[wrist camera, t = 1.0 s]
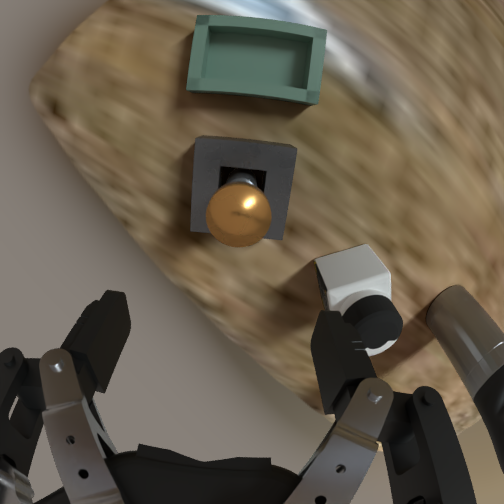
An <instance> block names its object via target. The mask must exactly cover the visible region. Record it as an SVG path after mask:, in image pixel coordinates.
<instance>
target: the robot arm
mask: <svg viewBox="0 0 504 504" xmlns="http://www.w3.org/2000/svg"><path fill="white" fill-rule="evenodd" d="M426 322H427V325H428V326H429V328H430V329H431V331H432V333H433V334H434V336H435V337H436V339H437V340H438V342H439V344H440V345H441V347H442V348H443V350H444V351H445V353H446V355H447V356H448V358H449V360H450V361H451V363H452V364H453V366H454V368H455V370H456V371H457V373H458V375H459V376H460V378H461V380H462V382H463V383H464V385H465V387H466V389H467V390H468V392H469V394H470V396H471V398H472V400H473V402H474V403H475V405H476V407H477V409H478V411H479V413H480V415H481V417H482V419H483V421H484V423H485V425H486V427H487V429H488V432H489V435H490V437H491V440H492V443H493V445H494V449H495V452H496V454H497V458H498V461H499V464H500V467H501V469H502V471H503V473H504V333H503V332H502V331H501V329H500V328H499V327H498V325H497V324H496V323H495V322H494V320H493V319H492V318H491V317H490V316H489V314H488V313H487V312H486V311H485V310H484V309H483V307H482V306H481V305H480V304H479V303H478V302H477V301H476V300H475V299H474V297H473V296H472V295H471V294H470V293H469V292H468V291H467V290H466V289H465V288H464V287H463V286H460V285H456V286H452V287H450V288H448V289H446V290H445V291H443V292H442V293H441V294H440V295H439V296H438V297H437V298H436V299H435V300H434V302H433V303H432V304H431V306H430V308H429V310H428V312H427V316H426ZM130 329H131V320H130V315H129V310H128V305H127V300H126V295H125V293H124V292H119V291H112V290H107V291H106V292H105V293H104V295H103V296H102V298H101V299H100V300H99V301H98V300H95V301H93V302H92V303H91V304H89V305H88V306H87V307H86V308H85V310H84V311H83V313H82V314H81V317H79V319H78V320H77V323H76V324H75V325H74V326H73V328H72V329H71V331H70V333H69V334H68V336H67V337H66V339H65V341H64V342H63V344H62V345H61V347H60V348H56V349H52V350H49V351H47V352H46V353H45V354H44V355H43V356H42V357H41V358H40V359H39V358H24V356H23V354H22V352H21V351H20V350H19V349H17V348H7V349H5V350H4V351H2V352H1V353H0V504H350V502H351V500H352V499H353V497H354V495H355V493H356V492H357V490H358V488H359V486H360V484H361V483H362V481H363V479H364V477H365V475H366V473H367V471H368V469H369V467H370V465H371V463H372V461H373V459H374V457H375V455H376V452H377V450H378V446H379V444H378V443H376V441H380V442H381V443H382V447H383V452H384V456H385V461H386V466H387V471H388V476H389V481H390V487H391V493H392V499H393V504H477V503H476V498H475V494H474V490H473V486H472V482H471V479H470V475H469V472H468V468H467V465H466V462H465V459H464V456H463V453H462V450H461V447H460V444H459V441H458V438H457V435H456V432H455V430H454V427H453V424H452V422H451V419H450V417H449V414H448V412H447V409H446V407H445V404H444V402H443V400H442V397H441V395H440V394H439V393H438V392H437V391H436V390H435V389H433V388H431V387H428V386H422V387H419V388H417V389H416V390H415V391H414V393H413V394H407V393H400V392H395V391H393V390H392V388H391V387H390V386H389V384H388V383H386V382H385V381H383V380H381V379H379V378H377V376H376V373H375V371H374V368H373V366H372V363H371V361H370V358H369V356H368V354H367V351H366V350H365V346H364V344H363V343H362V339H361V337H360V335H359V332H358V331H357V330H356V329H355V328H354V327H353V326H352V325H351V323H345V322H344V320H343V317H342V315H341V313H340V311H330V310H321V311H320V313H319V316H318V319H317V322H316V326H315V329H314V332H313V335H312V338H311V353H312V357H313V362H314V366H315V371H316V375H317V380H318V384H319V389H320V393H321V398H322V403H323V407H324V412H325V415H327V414H335V419H336V420H335V422H334V423H333V425H332V426H331V428H330V430H329V431H328V433H327V434H326V436H325V438H324V439H323V441H322V442H321V444H320V445H319V447H318V448H317V450H316V451H315V453H314V454H313V455H312V457H311V458H310V459H309V461H308V462H307V463H306V465H305V466H304V467H303V469H302V470H301V471H300V472H299V474H298V475H297V474H295V473H293V472H292V471H290V470H287V469H285V468H282V467H279V466H276V465H271V458H250V457H249V458H248V457H236V458H229V459H223V460H215V461H209V462H208V461H207V462H202V461H198V460H195V459H192V458H190V457H187V456H184V455H181V454H179V453H176V452H174V451H171V450H168V449H162V448H157V447H152V446H147V445H143V444H139V445H138V449H137V451H127V452H123V453H118V452H117V450H116V448H115V446H114V445H113V443H112V441H111V440H110V438H109V436H108V433H107V431H106V429H105V427H104V424H103V422H102V419H101V417H100V414H99V412H98V409H97V406H96V404H95V401H94V399H93V395H94V393H95V391H97V392H101V393H105V392H106V389H107V386H108V384H109V381H110V379H111V376H112V374H113V371H114V369H115V366H116V364H117V362H118V359H119V357H120V354H121V352H122V350H123V347H124V345H125V343H126V340H127V338H128V336H129V333H130ZM16 396H17V397H18V398H19V399H18V401H17V404H16V406H15V408H14V410H13V413H12V415H11V418H10V420H9V417H8V416H9V411H10V409H11V407H12V405H13V402H14V400H15V398H16ZM43 424H44V426H45V430H46V434H47V438H48V441H49V445H50V448H51V452H52V455H53V458H54V461H55V464H56V467H57V470H58V473H59V475H60V478H61V481H62V483H63V487H62V488H60V489H58V490H57V491H55V492H53V493H51V494H50V495H48V496H46V497H45V498H43V499H41V500H39V501H37V502H35V503H33V502H32V498H33V497H34V491H33V489H32V488H31V484H30V482H29V480H28V478H27V477H28V474H29V470H30V466H31V462H32V458H33V455H34V452H35V449H36V445H37V442H38V439H39V436H40V433H41V430H42V427H43Z"/></svg>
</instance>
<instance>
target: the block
mask: <svg viewBox="0 0 504 504" xmlns="http://www.w3.org/2000/svg"><path fill="white" fill-rule="evenodd" d="M296 154H297V148H295V147H294V146H292V145H290V144H283V143H276V142H268V141H260V140H251V139H242V138H231V137H219V136H204V135H202V136H200V137H197V138H196V139H195V151H194V165H193V181H192V200H191V227H190V231H193V232H204V233H211V232H210V230H209V228H208V226H207V223H206V210H207V206H208V204H209V202H210V199H211V197H212V196H213V194H214V193H215V192H216V191H217V190H218V189H219V188H220V187H221V184H222V173H223V166H226V167H237V168H247V169H256V170H264V171H263V179H262V186H261V191H262V192H263V193H264V194H265V195H266V197H267V199H268V201H269V205H270V209H271V215H272V218H271V224H270V227H269V230H268V231H267V233H266V234H265V236H264V237H263V238H265V239H275V240H282V239H283V233H284V228H285V222H286V216H287V210H288V204H289V198H290V192H291V186H292V180H293V173H294V167H295V161H296Z"/></svg>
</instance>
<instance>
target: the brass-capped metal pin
mask: <svg viewBox="0 0 504 504" xmlns="http://www.w3.org/2000/svg"><path fill="white" fill-rule="evenodd" d="M271 218H272V215H271V209H270V205H269V201H268V199H267V197H266V195H265V194H264V193H263V192H262V191H261V190H260V189H259V188H258V187H257V181H256V176H255V174H254V173H253V172H252V171H251V170H250V169H247V168H236V169H234V170H233V171H231V173H230V174H229V176H228V179H227V182H226V184H225V185H223V186H222V187H220V188H219V189H218V190H217V191H216V192H215V193H214V194H213V196H212V197H211V199H210V202H209V204H208V206H207V210H206V223H207V226H208V228H209V230H210V232H211V234H212V235H213V236H214V237H215V238H216V239H217V240H218V241H220V242H221V243H223V244H226V245H228V246H232V247H246V246H250V245H252V244H255V243H256V242H258V241H259V240H261V239H262V238H263V237H264V236H265V234H266V233H267V231H268V230H269V227H270V224H271Z"/></svg>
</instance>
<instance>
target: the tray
mask: <svg viewBox="0 0 504 504" xmlns="http://www.w3.org/2000/svg"><path fill="white" fill-rule="evenodd" d="M326 35H327V30H325V29H320V28H316V27H311V26H307V25H302V24H296V23H291V22H285V21H278V20H271V19H263V18H253V17H242V16H223V15H197V20H196V25H195V31H194V37H193V43H192V49H191V56H190V63H189V71H188V78H187V87H186V90H187V91H189V92H192V93H211V94H227V95H239V96H250V97H258V98H267V99H274V100H281V101H287V102H294V103H299V104H305V105H310V106H312V105H317V104H318V101H319V94H320V86H321V78H322V70H323V62H324V53H325V44H326Z"/></svg>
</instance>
